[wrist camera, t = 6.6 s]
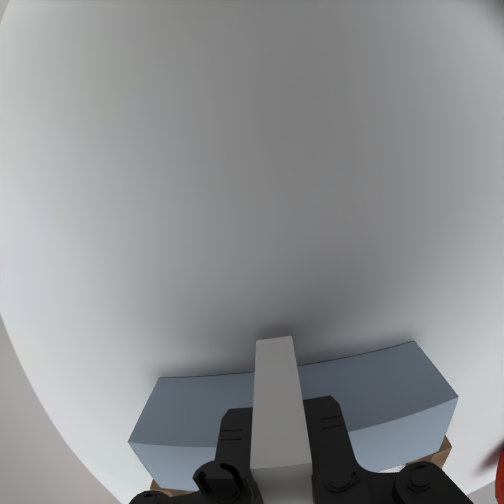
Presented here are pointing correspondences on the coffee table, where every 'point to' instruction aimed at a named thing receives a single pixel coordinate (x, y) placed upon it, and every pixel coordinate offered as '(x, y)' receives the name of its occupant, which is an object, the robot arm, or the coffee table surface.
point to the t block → (312, 386)
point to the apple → (500, 480)
